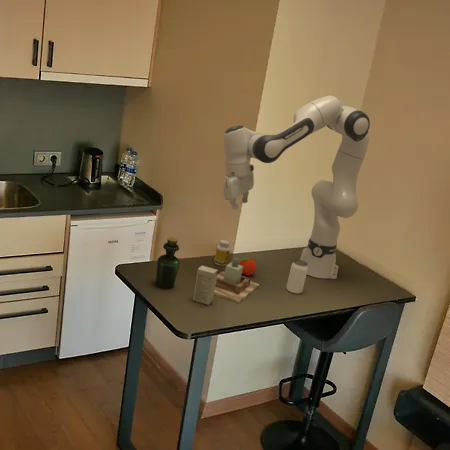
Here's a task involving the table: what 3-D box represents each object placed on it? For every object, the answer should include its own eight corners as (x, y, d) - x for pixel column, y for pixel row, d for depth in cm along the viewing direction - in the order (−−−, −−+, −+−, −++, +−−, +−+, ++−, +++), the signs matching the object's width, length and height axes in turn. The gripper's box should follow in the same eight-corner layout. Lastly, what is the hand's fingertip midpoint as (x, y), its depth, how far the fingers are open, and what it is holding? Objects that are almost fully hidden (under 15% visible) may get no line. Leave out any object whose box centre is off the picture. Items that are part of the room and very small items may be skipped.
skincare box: (212, 301, 217) (218, 269, 213) (208, 305, 213) (214, 273, 209) (196, 295, 219) (202, 264, 215) (191, 299, 215) (197, 268, 211)
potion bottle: (178, 290, 220) (186, 244, 215) (156, 289, 217) (164, 243, 212) (172, 280, 227) (180, 235, 222) (151, 279, 224) (158, 234, 219)
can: (292, 285, 244) (299, 258, 241) (305, 292, 240) (312, 264, 237) (282, 288, 240) (289, 260, 236) (295, 295, 236) (302, 267, 232)
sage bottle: (227, 281, 234) (232, 254, 230) (239, 285, 232) (244, 259, 229) (222, 285, 229) (227, 258, 226) (234, 289, 228) (239, 262, 224)
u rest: (222, 273, 243) (224, 264, 241) (258, 286, 237) (261, 277, 236) (199, 288, 225) (201, 279, 224) (238, 303, 219) (241, 293, 218)
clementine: (239, 278, 242) (243, 261, 239) (232, 270, 247) (235, 254, 245) (257, 277, 245) (260, 261, 243) (249, 270, 251) (252, 254, 249)
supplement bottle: (225, 267, 249) (229, 245, 246) (212, 264, 250) (217, 242, 247) (227, 262, 254) (232, 241, 251) (215, 259, 255) (219, 238, 252)
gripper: (233, 175, 218) (236, 213, 222) (255, 164, 236) (257, 199, 240) (217, 175, 221) (220, 212, 225) (240, 164, 239) (243, 199, 242)
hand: (240, 205), depth 232 cm, fingers open, 8 cm apart
